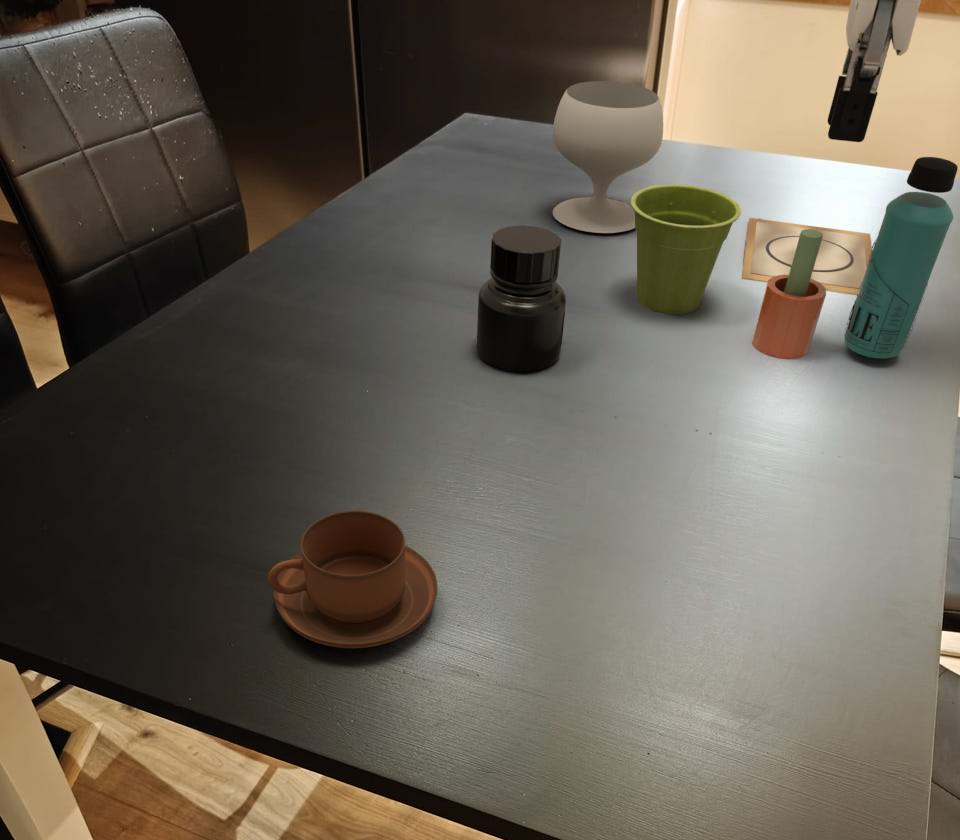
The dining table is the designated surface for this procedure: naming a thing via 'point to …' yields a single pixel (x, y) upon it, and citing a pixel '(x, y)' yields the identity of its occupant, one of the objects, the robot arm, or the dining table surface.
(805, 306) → the pen cup
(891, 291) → the beverage bottle
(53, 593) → the dining table surface
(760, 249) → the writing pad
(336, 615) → the cup and saucer
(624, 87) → the chalice
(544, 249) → the ink bottle
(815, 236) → the marker
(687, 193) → the plant pot
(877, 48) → the robot arm
